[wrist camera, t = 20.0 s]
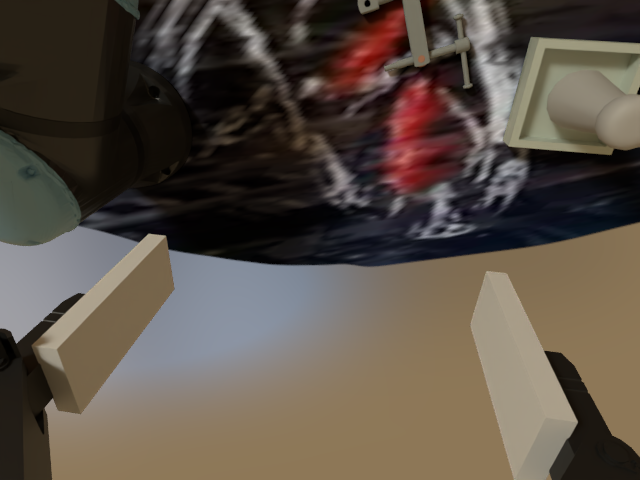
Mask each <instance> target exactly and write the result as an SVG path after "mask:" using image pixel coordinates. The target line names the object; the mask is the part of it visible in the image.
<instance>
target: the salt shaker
mask: <svg viewBox="0 0 640 480" xmlns="http://www.w3.org/2000/svg"><path fill="white" fill-rule="evenodd" d="M547 111H548V114H549V117H550V120H551V121H552V122H553V123H555V124H556V125H557V126H559V127H560V128H564V129H571V130H577V131H582V132H587V133H593V134H597V137H598V139H599V140H601V141H602V142H603V143H605V144H606V145H607V146H609V147H610V148H615V149H621V150H629V149H633V148H637V147H640V95H637V94H628V95H626V94H625V93H624V92H622V91H621V90H620V89H619V88H618V87H617V86H616V85H614V84H613V83H612V82H611V81H610V80H609V79H608V78H606V77H605V76H604V75H603V74H602V73H601V72H599V71H594V70H586V69H584V70H580V71H576V72H573V73H569V74H567V75H566V76H565V77H564V78H562V79H561V80H560V81H559V82H557V83H556V84H555V86H554V88H553V89H552V91H551V92H550V94H549V95H548V101H547Z"/></svg>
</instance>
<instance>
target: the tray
mask: <svg viewBox="0 0 640 480" xmlns="http://www.w3.org/2000/svg"><path fill="white" fill-rule="evenodd" d="M584 69H586V70H594V71H599V72H601V73H602V74H603V75H604V76H605V77H606V78H608V79H609V80H610V81H611V82H612V83H613V84H614V85H616V86H617V87H618V88H619V89H620V90H621V91H622V92H624V93H625V94H626V95H628V94H637V91H638V89H639V87H640V43H625V42H608V41H591V40H573V39H556V38H539V37H531V39H530V43H529V46H528V50H527V54H526V57H525V61H524V65H523V68H522V72H521V76H520V79H519V83H518V87H517V90H516V94H515V98H514V101H513V105H512V109H511V112H510V116H509V120H508V123H507V127H506V131H505V134H504V138H503V141H504V142H505V143H506V144H507V145H508V146H509V147H521V148H533V149H545V150H557V151H570V152H582V153H594V154H606V155H611V154H612V152H613V149H614V148H610V147H609V146H607V145H606V144H605V143H603V142H602V141H601V140H599V139H598V137H597V134H593V133H587V132H582V131H577V130H571V129H564V128H560V127H559V126H557V125H556V124H555V123H553V122H552V121H551V120H550V117H549V114H548V111H547V101H548V95H549V94H550V92H551V91H552V89H553V88H554V86H555V84H556V83H557V82H559V81H560V80H561V79H562V78H564V77H565V76H566V75H567V74H569V73H573V72H576V71H580V70H584Z"/></svg>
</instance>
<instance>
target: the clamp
mask: <svg viewBox="0 0 640 480" xmlns="http://www.w3.org/2000/svg"><path fill="white" fill-rule="evenodd" d="M365 1H366V0H358V6H359V10H360V12H361V14H362V15H363V14H366V13H369V12H372V11H375V10H378V9H379V5H381V4H384V3H387V2H390V1H393V0H369V1H370V2H371V4H370V6H369V7H365V5H364V3H365ZM402 4H403V9H404V15H405V20H406V26H407V31H408V36H409V42H410V47H411V53H412V57H409V58H406V59H403V60H399V61H397V62H396V63H393V64H391V65H388V66H384V67H385V71H389V70H392V69H397V68H398V69H399V68H403V67H406V66H409V65H413V64H414V65H415V67H423V66H425V65H426V64H428V63H429V62H430V59H432V58H436V57H439V56H442V55H446V54H449V53H452V52H456V54H458V53H461V60H462V67H463V74H464V82H465V85H464V86H463V88H464V89H468V88H470V87H472V84H471V83H470V79H469V72H468V64H467V57H466V51H468V50H469V49H470V40H469V38H468V37H465V38H464V34H463V26H462V19H461V18H462V17H463V16H464V15H463V14H457V15H456V16H454V17H453V19H454V20H456V23H457V30H458V38H459V39H458V40H455V41H454V44H451V45H448V46H445V47H442V48H438V49H435V50H432V51H429V52H428V47H427V41H426V35H425V29H424V23H423V17H422V11H421V5H420V0H402Z"/></svg>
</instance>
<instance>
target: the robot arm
mask: <svg viewBox="0 0 640 480" xmlns="http://www.w3.org/2000/svg"><path fill="white" fill-rule="evenodd" d="M137 9H138V0H0V241H1V242H5V243H9V244H13V245H20V246H33V245H39V244H43V243H46V242H49V241H51V240H53V239H55V238H56V237H58V236H60V235H62V234H64V233H65V232H70V231H72V230H73V229H75V228H76V227H77V226H78V225H79V223H80V222H81V221H83V220H84V219H86V218H87V217H89V216H90V215H91V214H93V213H94V212H96V211H97V210H99V209H100V208H101V207H103V206H104V205H106V204H107V203H108V202H110V201H111V200H113V199H114V198H116V197H117V196H118V195H120V194H121V193H123V192H124V191H125V190H127V189H128V188H137V187H145V186H151V185H155V184H158V183H161V182H163V181H165V180H166V179H168V178H169V177H171V176H172V175H173V174H175V173H176V172H177V171H178V170H179V169H180V168H181V167H182V166H183V165H184V163H185V162H186V160H187V158H188V156H189V153H190V150H191V146H192V126H191V121H190V117H189V114H188V111H187V109H186V107H185V105H184V103H183V101H182V99H181V97H180V96H179V94H178V93H177V91H176V90H175V89H174V88H173V86H172V85H171V84H170V83H169V82H168V81H167V80H166V79H165V78H164V77H162V76H161V75H160V74H159V73H157V72H156V71H154V70H153V69H151V68H149V67H147V66H145V65H143V64H141V63H138V62H134V61H130V57H131V50H132V43H133V36H134V30H135V23H136V19H138V20H139V16H140V13H139V12H138V10H137ZM173 290H174V283H173V277H172V271H171V265H170V258H169V252H168V246H167V239H166V236H162V235H153V234H148V235H147V236H146V237H145V238H144V239H143V240H142V241H141V242H140V243H139V244H138V245H137V246H136V247H135V248H133V250H132V251H130V252H129V253H128V254H127V255H126V256H125V257H124V258H123V259H122V260H121V261H120V262H119V263H118V264H117V265H116V266H115V267H114V268H113V269H111V270H110V271H109V272H108V273H107V274H106V275H105V276H104V277H103V278H102V279H101V280H100V281H99V282H98V283H97V284H96V285H95V286H94V287H93V288H92V289H90V290H89V291H88V292H87V293H86V294H81V293H78V294H76V295H74V296H72V297H71V298H69V299H67V300H65V301H63V302H62V303H61V304H60V305H59V306H58V307H57V308H55V309H54V310H53V312H52V313H50V314H49V315H48V316H47V317H45V318H44V320H43V321H41V322H40V323H39V324H38V325H37V326H36V327H34V328H33V329H32V330H31V331H30V332H29V333H28V334H27V335H26V336H25V337H23V338H22V339H21V340H20V341H19V342H18V343H17V344H16V343H15V340H14V338H13V336H12V333H11V332H10V331H8V330H6V329H0V480H52V474H51V461H50V448H49V434H48V420H47V414H46V411H45V409H44V408H45V406H46V405H47V404H48V403H49V402H50V400H51V399H52V398H53V399H54V402H55V404H56V407H57V409H58V410H59V411H65V412H71V413H78V414H81V413H82V412H83V410H84V409H85V408H86V406H87V405H88V404H89V402H90V401H91V400H92V398H93V397H94V396H95V394H96V393H97V392H98V390H99V389H100V388H101V386H102V385H103V384H104V382H105V381H106V380H107V378H108V377H109V376H110V374H111V373H112V372H113V370H114V369H115V368H116V366H117V365H118V364H119V362H120V361H121V359H122V358H123V357H124V356H125V354H126V353H127V352H128V350H129V349H130V348H131V346H132V345H133V344H134V342H135V341H136V340H137V338H138V337H139V336H140V334H141V333H142V332H143V330H144V329H145V328H146V326H147V325H148V324H149V322H150V321H151V320H152V318H153V317H154V316H155V314H156V313H157V312H158V310H159V309H160V308H161V306H162V305H163V304H164V302H165V301H166V299H167V298H168V297H169V296H170V294H171V293H172V291H173ZM470 325H471V329H472V333H473V336H474V340H475V344H476V347H477V350H478V354H479V357H480V361H481V365H482V368H483V372H484V375H485V379H486V382H487V386H488V390H489V393H490V396H491V400H492V403H493V407H494V411H495V414H496V418H497V421H498V425H499V428H500V432H501V435H502V439H503V442H504V446H505V450H506V453H507V456H508V460H509V464H510V467H511V471H512V474H513V478H514V480H546V478H547V477H548V475H549V473H550V475H551V478H552V480H640V457H639V456H638V455H637V454H636V453H635V451H634V450H633V449H632V448H631V447H630V446H628V445H627V444H626V443H624V442H623V441H622V440H620V439H618V438H616V437H614V436H612V434H611V432H610V431H609V429H608V427H607V425H606V423H605V421H604V420H603V418H602V416H601V414H600V412H599V410H598V409H597V407H596V405H595V403H594V401H593V399H592V398H591V396H590V394H589V393H588V390H587V388H586V387H585V385H584V383H583V382H582V381H581V377H580V376H579V374H578V372H577V370H576V368H575V366H574V365H573V364H572V363H571V362H570V361H569V360H568V359H566V357H565V356H563V354H562V353H558V352H550V351H544V350H543V349H542V346H541V344H540V342H539V340H538V338H537V336H536V334H535V332H534V330H533V328H532V325H531V323H530V321H529V319H528V317H527V315H526V313H525V311H524V309H523V306H522V304H521V302H520V300H519V298H518V296H517V294H516V292H515V290H514V288H513V286H512V283H511V282H510V280H509V277H508V275H507V273H499V272H489V271H486V275H485V278H484V281H483V284H482V288H481V291H480V294H479V298H478V301H477V304H476V308H475V311H474V314H473V317H472V321H471V324H470Z"/></svg>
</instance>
